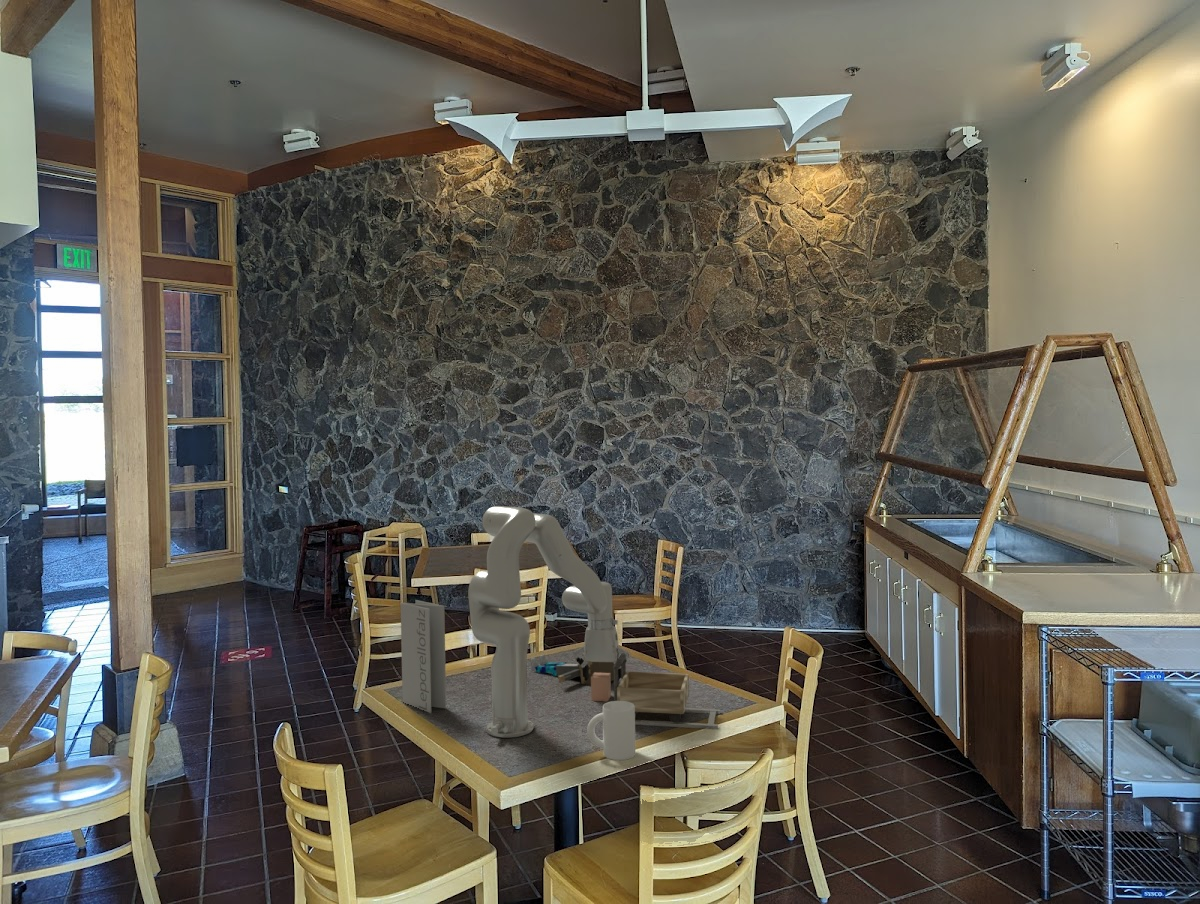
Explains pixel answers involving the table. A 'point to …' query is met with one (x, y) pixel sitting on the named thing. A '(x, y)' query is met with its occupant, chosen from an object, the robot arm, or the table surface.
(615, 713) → the mug
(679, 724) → the rails
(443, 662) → the brochure
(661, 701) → the cart
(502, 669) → the robot arm
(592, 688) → the block
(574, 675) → the toy
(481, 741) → the table surface
